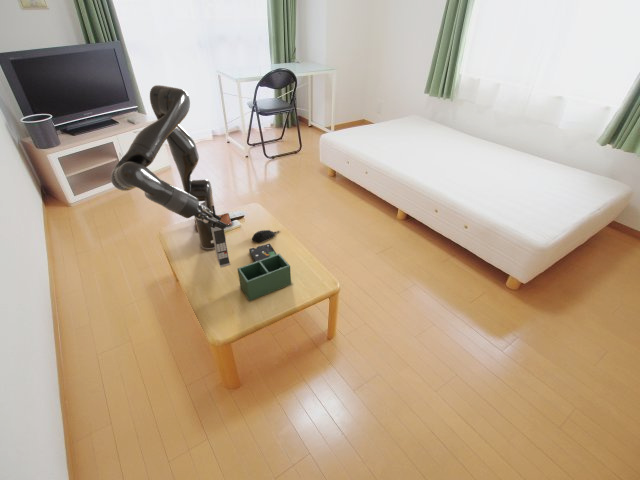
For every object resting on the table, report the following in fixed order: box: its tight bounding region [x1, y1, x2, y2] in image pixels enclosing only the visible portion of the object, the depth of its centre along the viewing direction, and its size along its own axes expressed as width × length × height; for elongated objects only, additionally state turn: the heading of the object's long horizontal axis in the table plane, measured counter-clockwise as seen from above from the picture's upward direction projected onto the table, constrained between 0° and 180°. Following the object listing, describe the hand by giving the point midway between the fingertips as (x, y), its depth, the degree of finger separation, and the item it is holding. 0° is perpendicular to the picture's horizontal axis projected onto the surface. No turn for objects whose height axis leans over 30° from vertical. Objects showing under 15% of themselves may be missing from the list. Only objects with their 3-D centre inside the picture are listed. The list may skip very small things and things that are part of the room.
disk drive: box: [248, 243, 277, 263], centre depth 152 cm, size 10×3×15 cm
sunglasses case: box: [194, 212, 233, 233], centre depth 175 cm, size 18×7×7 cm, turn 114°
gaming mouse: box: [251, 229, 279, 244], centre depth 166 cm, size 6×15×4 cm, turn 129°
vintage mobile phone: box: [211, 205, 231, 269], centre depth 122 cm, size 4×5×25 cm
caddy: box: [237, 253, 292, 302], centre depth 136 cm, size 10×18×10 cm, turn 123°
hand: (221, 223), depth 120 cm, fingers closed on vintage mobile phone, 4 cm apart
